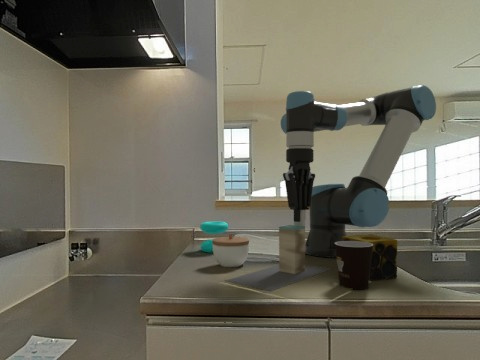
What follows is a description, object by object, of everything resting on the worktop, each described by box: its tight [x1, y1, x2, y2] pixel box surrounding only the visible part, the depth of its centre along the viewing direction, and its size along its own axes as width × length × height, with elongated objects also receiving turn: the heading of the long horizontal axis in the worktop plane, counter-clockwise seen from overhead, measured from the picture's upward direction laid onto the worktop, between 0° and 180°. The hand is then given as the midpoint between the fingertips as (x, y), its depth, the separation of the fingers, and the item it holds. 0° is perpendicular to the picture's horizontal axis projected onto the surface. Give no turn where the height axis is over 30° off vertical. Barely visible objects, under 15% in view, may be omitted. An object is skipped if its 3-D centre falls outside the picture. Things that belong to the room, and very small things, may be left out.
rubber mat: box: [224, 263, 332, 292], centre depth 101 cm, size 28×14×1 cm, turn 138°
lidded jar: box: [211, 233, 250, 268], centre depth 113 cm, size 11×11×9 cm
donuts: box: [199, 220, 229, 253], centre depth 137 cm, size 10×10×10 cm
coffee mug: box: [335, 241, 373, 292], centre depth 92 cm, size 12×9×10 cm
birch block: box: [278, 224, 306, 274], centre depth 105 cm, size 5×5×12 cm
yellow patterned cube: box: [342, 234, 398, 282], centre depth 101 cm, size 10×10×10 cm
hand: (299, 233), depth 108 cm, fingers closed
